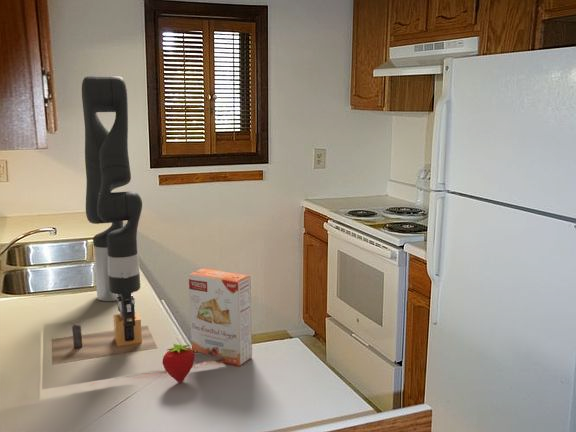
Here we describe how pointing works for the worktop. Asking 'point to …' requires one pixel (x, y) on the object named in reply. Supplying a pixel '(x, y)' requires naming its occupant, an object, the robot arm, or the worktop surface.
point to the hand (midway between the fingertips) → (127, 335)
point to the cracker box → (221, 315)
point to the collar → (120, 330)
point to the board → (95, 345)
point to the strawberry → (178, 361)
